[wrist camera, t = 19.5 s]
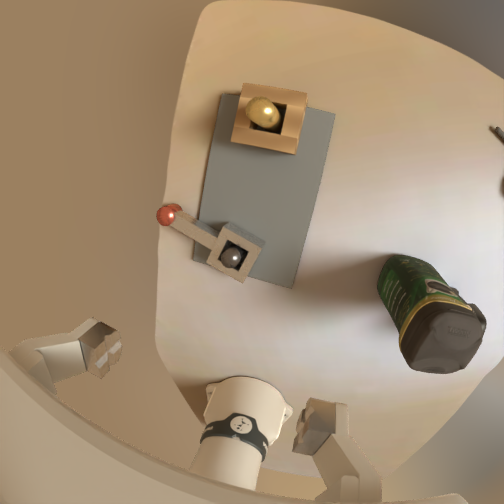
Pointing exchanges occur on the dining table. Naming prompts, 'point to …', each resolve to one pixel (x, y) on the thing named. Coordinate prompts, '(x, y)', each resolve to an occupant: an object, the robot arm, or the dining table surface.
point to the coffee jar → (428, 317)
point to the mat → (265, 191)
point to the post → (232, 256)
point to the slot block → (281, 99)
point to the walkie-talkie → (500, 132)
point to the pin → (264, 114)
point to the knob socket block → (214, 239)
